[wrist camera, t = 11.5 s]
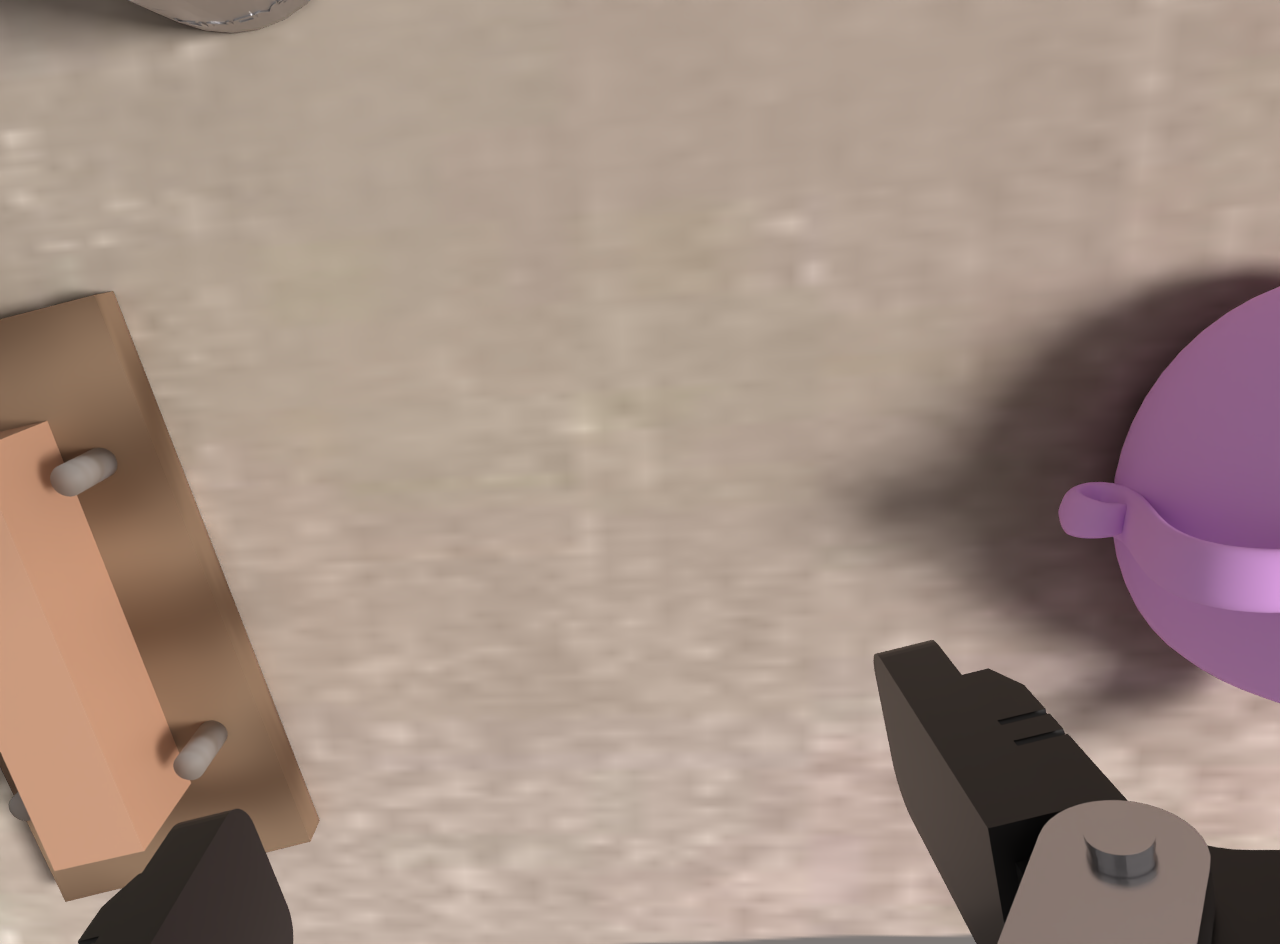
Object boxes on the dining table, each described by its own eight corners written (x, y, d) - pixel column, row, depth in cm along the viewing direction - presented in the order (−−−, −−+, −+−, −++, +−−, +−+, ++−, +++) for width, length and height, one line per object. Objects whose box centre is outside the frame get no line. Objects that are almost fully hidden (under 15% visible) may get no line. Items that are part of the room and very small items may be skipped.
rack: (-163, 362, 38) (-249, 380, 34) (113, 291, 37) (58, 301, 34) (82, 878, 44) (34, 943, 40) (319, 820, 44) (293, 880, 40)
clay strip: (-43, 441, 37) (-126, 472, 33) (47, 420, 37) (-25, 449, 33) (110, 801, 41) (54, 871, 37) (191, 783, 41) (144, 850, 37)
